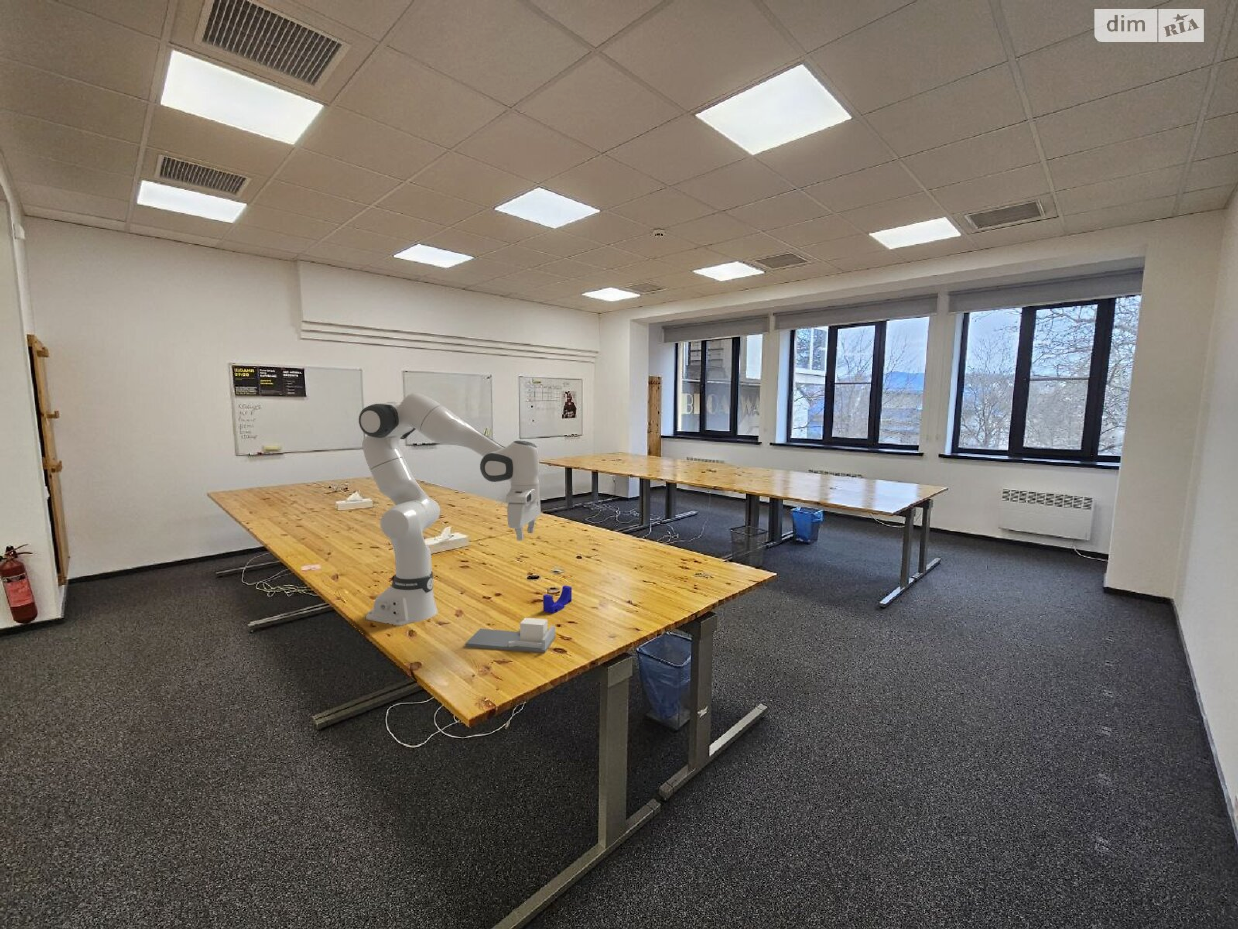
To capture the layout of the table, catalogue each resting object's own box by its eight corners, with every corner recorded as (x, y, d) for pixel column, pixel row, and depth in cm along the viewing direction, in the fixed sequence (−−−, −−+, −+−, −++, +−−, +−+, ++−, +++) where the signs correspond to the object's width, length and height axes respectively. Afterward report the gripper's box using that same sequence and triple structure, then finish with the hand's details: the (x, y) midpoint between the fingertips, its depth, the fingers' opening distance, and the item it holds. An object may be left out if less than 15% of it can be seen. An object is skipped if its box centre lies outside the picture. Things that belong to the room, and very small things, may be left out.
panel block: (520, 643, 146) (520, 623, 145) (525, 637, 150) (524, 617, 149) (543, 645, 144) (543, 625, 144) (547, 639, 148) (547, 619, 148)
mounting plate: (465, 647, 145) (465, 633, 145) (480, 632, 155) (480, 619, 155) (545, 654, 141) (544, 640, 141) (555, 638, 151) (555, 625, 151)
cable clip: (553, 615, 169) (553, 598, 169) (543, 612, 172) (543, 595, 171) (574, 604, 179) (575, 587, 179) (565, 601, 182) (565, 585, 181)
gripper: (526, 487, 167) (527, 528, 169) (503, 497, 147) (503, 543, 149) (545, 488, 166) (545, 529, 168) (523, 498, 146) (524, 545, 148)
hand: (525, 536), depth 158 cm, fingers open, 8 cm apart
